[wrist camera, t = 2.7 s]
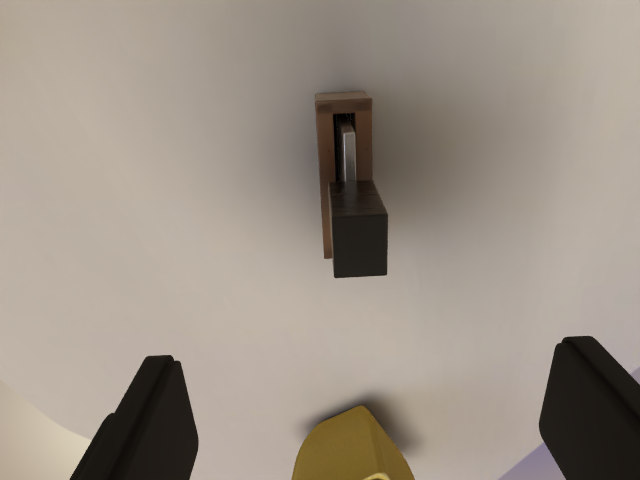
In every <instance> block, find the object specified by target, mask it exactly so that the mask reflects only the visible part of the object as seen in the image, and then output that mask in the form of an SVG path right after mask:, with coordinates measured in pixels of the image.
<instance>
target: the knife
mask: <svg viewBox="0 0 640 480" xmlns="http://www.w3.org/2000/svg"><path fill="white" fill-rule="evenodd" d="M336 119H337V146H338V172H339V182H329V183H328V193H329V214H330V234H331V246H332V258H333V270H334V277H335V278H345V277H364V276H383V275H387V249H388V214H387V212H386V209H385V207H384V205H383V202H382V200H381V198H380V195H379V193H378V191H377V188H376V186H375V184H374V181H373V180H361V181H356V147H355V132H354V130H353V127H352V125H351V123H350V121H349V119H348V116H347V114H346V113H345V114H336Z"/></svg>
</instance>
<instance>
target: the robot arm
mask: <svg viewBox="0 0 640 480" xmlns="http://www.w3.org/2000/svg"><path fill="white" fill-rule="evenodd" d="M539 430H540V434H541V437H542V439H543V440H544V442H545V444H546V446H547V447H548V449H549V451H550V453H551V454H552V456H553V458H554V459H555V461H556V463H557V464H558V466H559V468H560V470H561V471H562V473H563V475H564V476H565V478H566V480H640V385H639V384H638V383H637V382H636V381H635V380H634V378H633V377H631V375H630V374H629V373H628V372H627V371H626V370H625V369H624V368H623V367H622V366H621V365H620V364H619V363H618V362H617V361H616V360H615V359H614V358H613V357H612V356H611V355H610V354H609V353H608V352H607V351H606V350H605V348H604V347H603V346H602V345H601V344H600V343H599V342H598V341H597V340H596V339H595V338H593V337H591V336H575V337H565V338H564V339H563V340H562V342H561V343H559V344H557V345H556V347H555V351H554V356H553V360H552V365H551V369H550V374H549V379H548V383H547V388H546V392H545V397H544V402H543V406H542V411H541V415H540V420H539ZM197 452H198V434H197V430H196V426H195V422H194V417H193V413H192V409H191V404H190V400H189V396H188V392H187V387H186V383H185V379H184V375H183V370H182V366H181V363H180V361H174V359H173V357H172V356H171V355H160V356H148V357H146V358H145V360H144V361H143V363H142V365H141V367H140V368H139V370H138V372H137V374H136V375H135V377H134V379H133V381H132V383H131V384H130V386H129V388H128V390H127V392H126V393H125V395H124V397H123V399H122V400H121V402H120V404H119V406H118V408H117V409H116V411H115V413H111V414H109V415H108V416H107V417H106V418H105V420H104V421H103V423H102V424H101V426H100V428H99V429H98V431H97V433H96V435H95V436H94V438H93V440H92V442H91V444H90V445H89V447H88V449H87V450H86V452H85V454H84V456H83V457H82V459H81V461H80V462H79V464H78V466H77V468H76V469H75V471H74V473H73V474H72V476H71V478H70V480H189V479H190V476H191V472H192V469H193V466H194V462H195V459H196V455H197Z"/></svg>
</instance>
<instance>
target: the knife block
mask: <svg viewBox="0 0 640 480" xmlns="http://www.w3.org/2000/svg"><path fill="white" fill-rule="evenodd" d="M315 106H316V124H317V141H318V158H319V176H320V193H321V210H322V228H323V245H324V259H330V258H332V246H331V234H330V214H329V193H328V183H329V182H336V175H335V150H334V126H333V114H345V113H350V120H351V125H352V127H353V130H354V132H355V147H356V181H361V180H372V98H371V97H370V96H369V95H368V94H367V93H366V92H364V91H357V92H341V93H324V94H316V95H315Z"/></svg>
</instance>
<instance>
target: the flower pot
mask: <svg viewBox="0 0 640 480" xmlns="http://www.w3.org/2000/svg"><path fill="white" fill-rule="evenodd" d="M292 480H415V479H414V476H413V474H412V472H411V469H410V468H409V466H408V464H407V462H406V460H405V458H404V457H403V455H402V454H401V452H400V451H399V449H398V448H397V447H396V445H395V444H394V443H393V441H392V440H391V439H390V437H389V436H388V435H387V434H386V432H385V431H384V430H383V429H382V427H381V426H380V425H379V423H378V422H377V421H376V420H375V418H374V417H373V416H372V414H371V413H370V412H369V410H368V409H367V408H366V407H365V406H357V407H355V408H352V409H350V410H348V411H346V412H344V413H341V414H339V415H337V416H335V417H332V418H330V419H328V420H325V421H323V422H321V423H319V424H318V425H317V426H316V427H315V428H314V429H313V430H312V431H311V432H310V434H309V435H308V436H307V438H306V439H305V441H304V442H303V444H302V446H301V448H300V450H299V452H298V455H297V458H296V462H295V466H294V470H293V475H292Z"/></svg>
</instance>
